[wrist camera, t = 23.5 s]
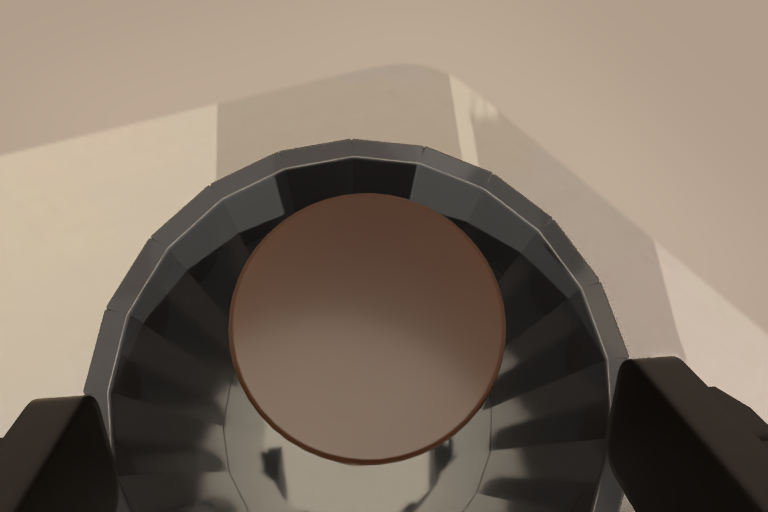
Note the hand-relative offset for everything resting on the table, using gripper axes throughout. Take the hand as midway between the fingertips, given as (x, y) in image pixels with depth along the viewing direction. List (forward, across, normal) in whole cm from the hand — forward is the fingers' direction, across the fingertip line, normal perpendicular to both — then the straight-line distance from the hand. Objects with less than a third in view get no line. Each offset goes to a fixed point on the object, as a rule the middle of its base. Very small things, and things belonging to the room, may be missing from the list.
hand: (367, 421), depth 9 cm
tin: (+9, 0, +7) cm, 11 cm away
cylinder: (+8, 0, +7) cm, 11 cm away
